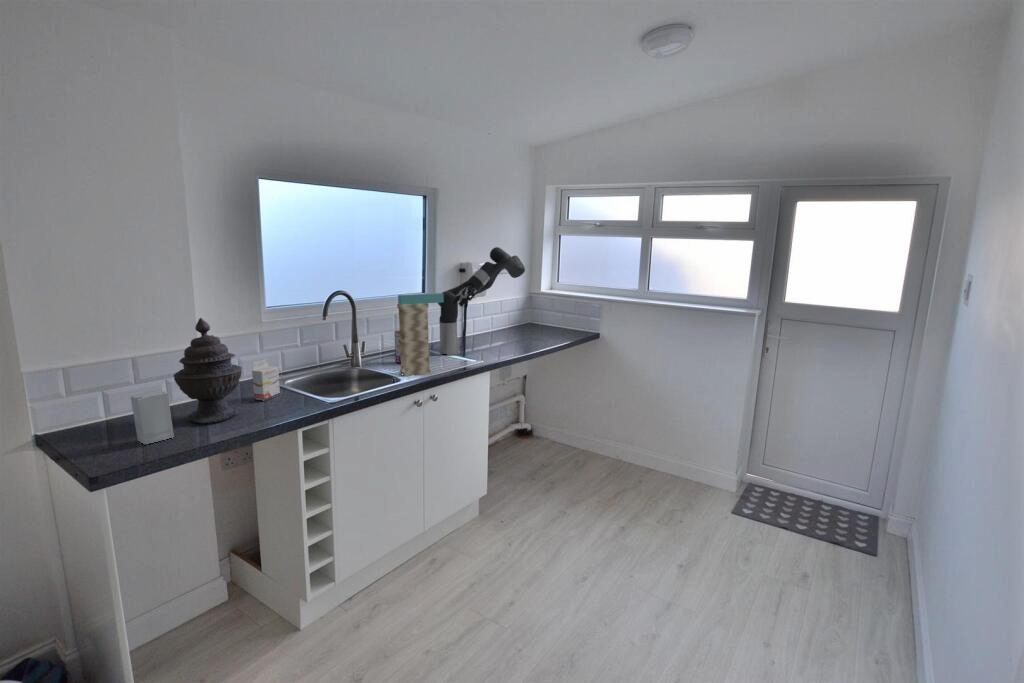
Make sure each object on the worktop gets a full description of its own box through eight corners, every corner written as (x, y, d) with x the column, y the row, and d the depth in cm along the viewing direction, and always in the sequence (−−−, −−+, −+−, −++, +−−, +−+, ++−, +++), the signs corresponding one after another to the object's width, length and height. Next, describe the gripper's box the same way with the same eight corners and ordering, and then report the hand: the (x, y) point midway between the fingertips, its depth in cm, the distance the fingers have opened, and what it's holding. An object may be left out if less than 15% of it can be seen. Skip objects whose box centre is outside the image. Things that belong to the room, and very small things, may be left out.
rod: (440, 301, 248) (440, 292, 247) (443, 302, 245) (443, 293, 244) (398, 304, 238) (398, 295, 238) (401, 304, 235) (400, 295, 234)
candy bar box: (395, 363, 266) (393, 330, 263) (398, 361, 270) (397, 329, 267) (417, 363, 264) (416, 331, 262) (420, 361, 269) (418, 329, 266)
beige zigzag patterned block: (425, 370, 251) (422, 302, 245) (430, 373, 245) (428, 303, 239) (400, 373, 245) (397, 303, 240) (405, 376, 239) (402, 305, 234)
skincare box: (167, 434, 167) (161, 388, 164) (175, 439, 164) (169, 391, 161) (136, 442, 161) (129, 394, 158) (143, 447, 157) (136, 398, 154)
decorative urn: (237, 423, 175) (220, 317, 170) (170, 431, 172) (151, 323, 167) (256, 408, 195) (242, 312, 190) (197, 414, 192) (180, 317, 187)
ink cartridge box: (264, 402, 202) (261, 363, 199) (254, 400, 203) (250, 362, 200) (281, 396, 209) (278, 359, 207) (271, 394, 211) (267, 358, 208)
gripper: (489, 287, 256) (467, 311, 252) (476, 285, 268) (455, 308, 264) (480, 275, 253) (457, 300, 249) (467, 274, 265) (445, 297, 261)
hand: (456, 304), depth 257 cm, fingers open, 8 cm apart
